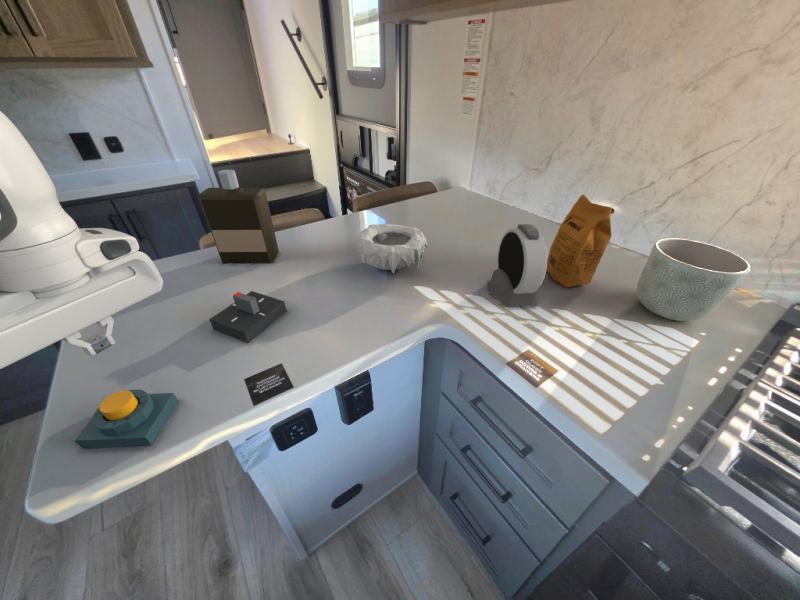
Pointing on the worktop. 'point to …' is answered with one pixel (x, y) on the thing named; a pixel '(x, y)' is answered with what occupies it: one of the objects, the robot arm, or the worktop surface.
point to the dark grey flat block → (248, 318)
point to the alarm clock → (519, 266)
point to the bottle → (239, 221)
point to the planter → (688, 278)
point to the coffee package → (580, 243)
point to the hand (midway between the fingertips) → (101, 348)
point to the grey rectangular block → (246, 303)
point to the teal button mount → (130, 423)
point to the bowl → (391, 246)
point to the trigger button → (118, 405)
